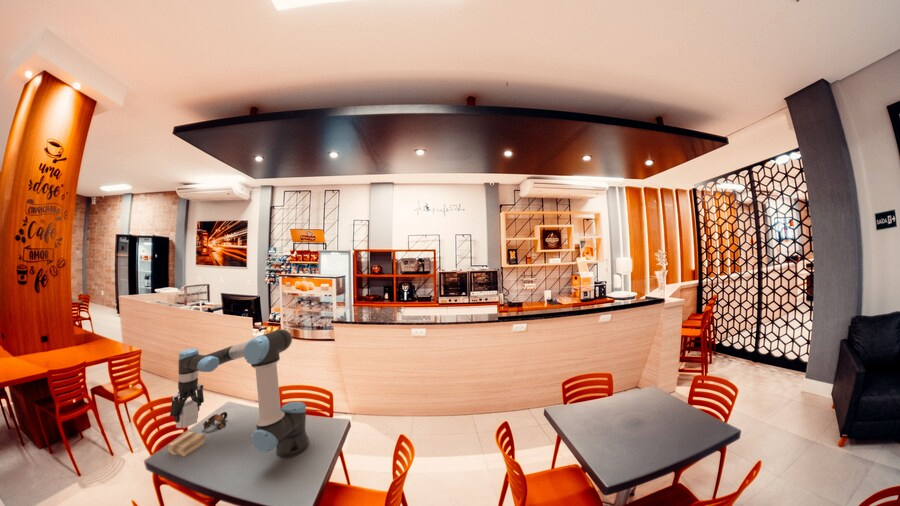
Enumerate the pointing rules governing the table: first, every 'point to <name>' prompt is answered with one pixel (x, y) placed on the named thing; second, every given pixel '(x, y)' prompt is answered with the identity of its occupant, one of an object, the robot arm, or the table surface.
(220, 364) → the robot arm
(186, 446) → the oak block
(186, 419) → the small box
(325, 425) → the table surface
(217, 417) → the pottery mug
